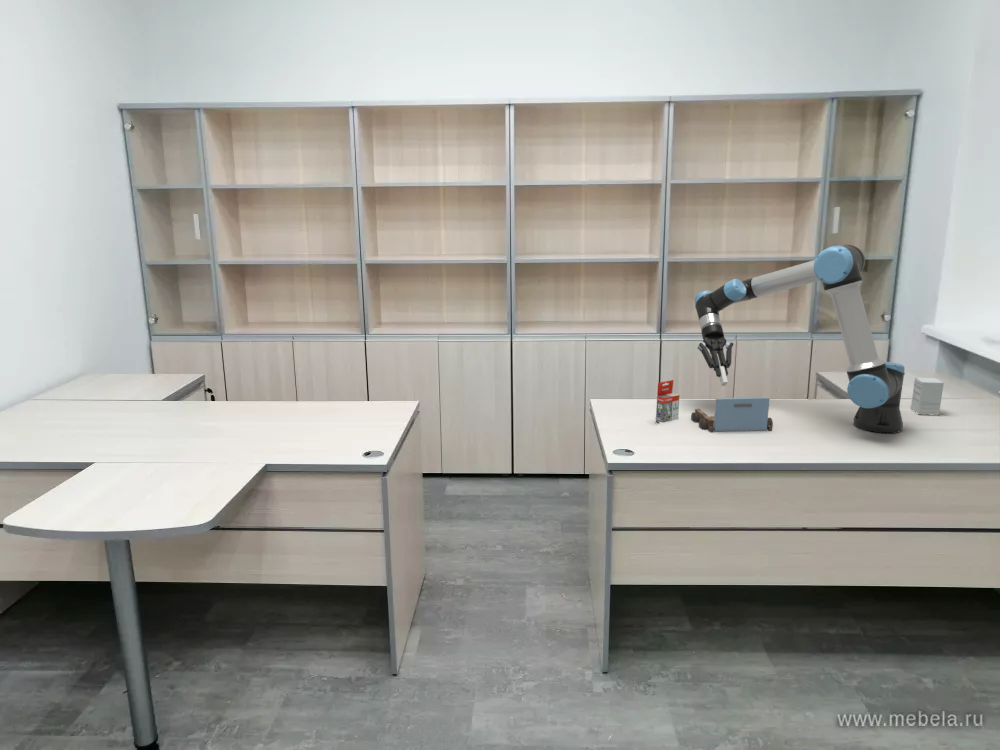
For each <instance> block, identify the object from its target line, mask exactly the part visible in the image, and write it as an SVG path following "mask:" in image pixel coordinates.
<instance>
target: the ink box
mask: <svg viewBox="0 0 1000 750" xmlns="http://www.w3.org/2000/svg"><path fill="white" fill-rule="evenodd" d="M665 384H666V385H665ZM673 387H674V379H672V380H665V381H660V382H657V392H656V393H657V394H656V395H657V396H656V411H655V423H656V422H657V424H661V423H666V422H671V421H675V420H678V419H679V414H680V413H679V412H680V410H679V409H680V394H677V393H674V392H673Z"/></svg>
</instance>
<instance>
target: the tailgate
mask: <svg viewBox="0 0 1000 750" xmlns="http://www.w3.org/2000/svg"><path fill="white" fill-rule="evenodd" d="M769 407H770V397H730V398H729V397H728V398H727V397H726V398H725V397H724V398H721V397H720V398H715V405H714V416H715V418H714V431H713V433H721V432H722V433H723V432H724V433H728V432H764V431H765V432H767V431H768V430H767V421H768V418H769Z"/></svg>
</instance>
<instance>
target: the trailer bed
mask: <svg viewBox="0 0 1000 750" xmlns="http://www.w3.org/2000/svg"><path fill="white" fill-rule="evenodd" d="M690 415H691V416H690V420H691V421H692V422H693V423H698V427H699V428H700V429H701V430H707V431H708V432H709V433H714V418H715V415H713V416H709V415H708V414H706V413H705V411H704V410H702V409H700V408H695V410H694V412H691V414H690ZM773 421H774V420H773V418H771V417H768V421H767V431H768V432H772V431H773V426H774V423H773Z"/></svg>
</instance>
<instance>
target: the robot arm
mask: <svg viewBox="0 0 1000 750" xmlns="http://www.w3.org/2000/svg"><path fill="white" fill-rule="evenodd" d="M865 265H866V258H865V254H864V253H863V251H862V250H861V249H860V248H859V247H857V246H855V245H852V244H843V245H842V244H841V245H832V246H830V247H827V248H825V249H823V250H822V251H820V252H819V253H818V254H817V255H816V258H815V259H814V260H810V261H807V262H804V263H800V264H796V265H793V266H789V267H786V268H782V269H778V270H776V271H772V272H768V273H766V274H762V275H759V276H754V277H753V278H748V279H745V280H741V279H738V278H734V279H731V280H730V281H729V280H728V281H727V282H726V283H725V284H723V285H722V286H720V287H719V288H716V289H715V290H714V291H712V290H707V289H706V290H703V291H700V292H698V293H696V295H694V304H695V305H694V308H695V310H696V313H697V317H698V324H699V327H700V331H701V332H700V333H701V335H702V342H699V344H698V346H697V350H699V351H700V352H701V354H702V355H703V358H704V361H705V362H706V364H707V366H708V368H709V369H713V371H714V372H715V375H716V377H718V378H719V382H720V386H721V387H726V385H727V384H728V375H729V371H728V369H729V368H730V366H731V365H732V356H733V355H732V349H733V347H734V343H733V342H728V341H727V339H726V338H725V334H724V333H725V332H724V330H723V327H722V322H721V318H720V311H723V310H724V309H726V308H727V307H729V306H731V305H734V304H737V303H741V302H745V301H746V302H747V301H751V300H753V299H757V298H760V297H763V296H764V297H765V296H767V295H771V294H774V293H775V294H776V293H779V292H782V291H786V290H790V289H795V288H798V287H801V286H806V285H810V284H812V283H813V284H814V283H817V282H821V285H822V287H823V289H824V292H825V293H827V294H828V295H830V296H831V300H832V304H833V308H834V311H835V315H836V319H837V323H838V327H839V330H840V334H841V337H842V340H843V344H844V349H845V352H846V356H847V358H848V361H849V365H848V368H846V374H847V378H848V384H847V388H846V391H847V395H848V398H849V399H850V401H851V402H852V403H853V404H855V405H857V406H858V407H859V408H858V409H857V411H856V413H855V415H854V417H853V426H854V427H856V428H858V429H861V430H864V431H869V432H872V431H873V433H879V432H884V433H883V434H891V433H890V432H897V433H899V432H898V431H900V432H902V431H903V428H904V427H903V426H904V423H903V418H902V413H901V409H900V405H901V399H902V390H903V385H904V377H905V366H904V365H903V364H901V363H896V362H893V361H892V362H891V361H884V360H882V359H880V358H879V356H878V352H877V348H876V345H875V341H874V338H873V334H872V330H871V327H870V323H869V319H868V316H867V312H866V309H865V305H864V300H863V297H862V294H861V290H860V287H861V285H862V283H863V278H862V277H863V276H862V274H861V272H862V271H863V270H864V268H865ZM724 348H725V349H726V353H725V352H724ZM901 430H902V431H901ZM885 432H887V433H885ZM888 432H889V433H888Z"/></svg>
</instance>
